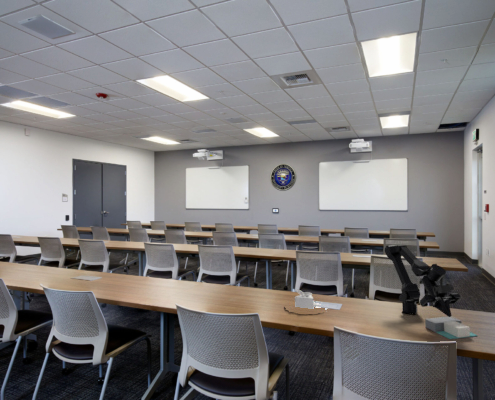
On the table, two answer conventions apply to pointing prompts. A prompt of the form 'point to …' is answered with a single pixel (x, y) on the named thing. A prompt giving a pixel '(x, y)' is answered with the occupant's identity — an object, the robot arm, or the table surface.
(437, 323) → the plinth
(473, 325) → the table surface
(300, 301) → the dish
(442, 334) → the mat
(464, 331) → the card box
